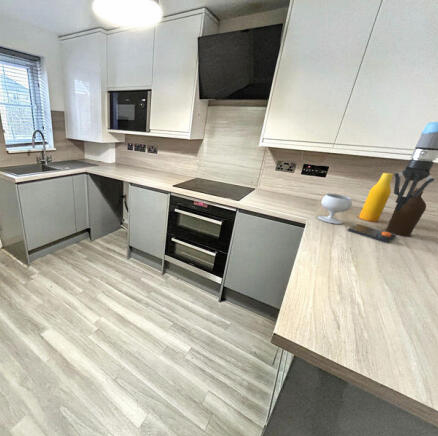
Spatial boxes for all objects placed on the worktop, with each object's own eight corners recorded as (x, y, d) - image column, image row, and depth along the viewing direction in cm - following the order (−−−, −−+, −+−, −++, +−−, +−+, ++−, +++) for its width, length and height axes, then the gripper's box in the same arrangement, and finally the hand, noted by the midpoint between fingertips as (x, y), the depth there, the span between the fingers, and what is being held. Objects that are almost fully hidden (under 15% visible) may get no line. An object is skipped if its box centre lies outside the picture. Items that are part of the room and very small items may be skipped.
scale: (397, 238, 122) (400, 233, 121) (389, 244, 114) (392, 238, 113) (357, 226, 135) (359, 221, 134) (347, 230, 127) (349, 225, 126)
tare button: (390, 236, 117) (392, 233, 116) (388, 237, 115) (390, 234, 114) (382, 233, 119) (383, 231, 119) (380, 235, 117) (381, 232, 117)
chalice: (343, 220, 143) (352, 196, 138) (345, 227, 132) (355, 201, 127) (315, 214, 150) (323, 191, 145) (315, 220, 139) (324, 196, 134)
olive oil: (416, 238, 123) (441, 192, 114) (392, 234, 126) (414, 189, 117) (402, 230, 133) (424, 187, 123) (380, 227, 135) (400, 185, 126)
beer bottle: (361, 215, 154) (379, 171, 143) (379, 220, 147) (400, 174, 136) (356, 218, 149) (375, 172, 138) (375, 223, 142) (397, 175, 131)
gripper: (399, 157, 106) (377, 207, 115) (443, 162, 96) (415, 215, 105) (403, 157, 110) (382, 205, 119) (445, 162, 100) (418, 213, 109)
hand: (397, 210), depth 112 cm, fingers closed
